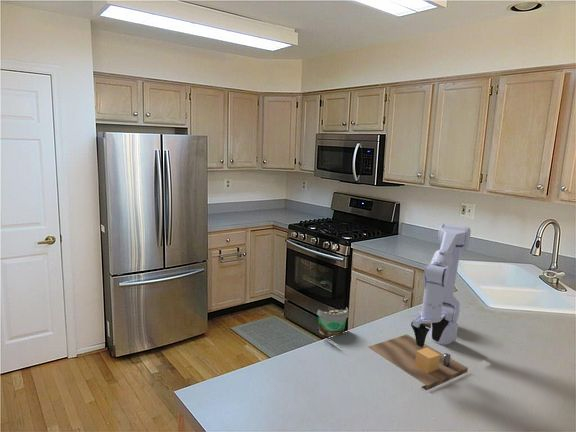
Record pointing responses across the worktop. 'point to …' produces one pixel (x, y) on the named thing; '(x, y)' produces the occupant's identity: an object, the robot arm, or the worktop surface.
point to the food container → (332, 322)
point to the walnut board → (404, 357)
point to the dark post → (446, 359)
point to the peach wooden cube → (427, 360)
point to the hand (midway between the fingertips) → (427, 342)
